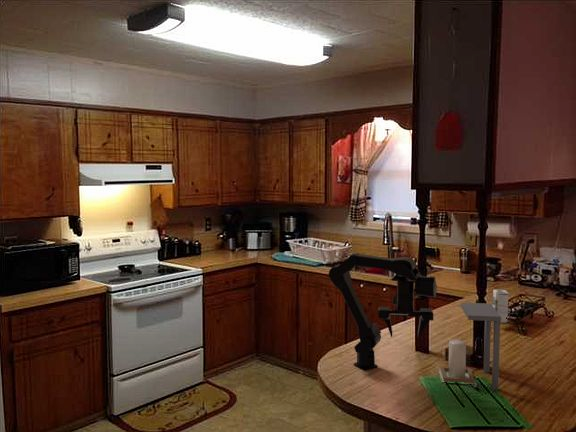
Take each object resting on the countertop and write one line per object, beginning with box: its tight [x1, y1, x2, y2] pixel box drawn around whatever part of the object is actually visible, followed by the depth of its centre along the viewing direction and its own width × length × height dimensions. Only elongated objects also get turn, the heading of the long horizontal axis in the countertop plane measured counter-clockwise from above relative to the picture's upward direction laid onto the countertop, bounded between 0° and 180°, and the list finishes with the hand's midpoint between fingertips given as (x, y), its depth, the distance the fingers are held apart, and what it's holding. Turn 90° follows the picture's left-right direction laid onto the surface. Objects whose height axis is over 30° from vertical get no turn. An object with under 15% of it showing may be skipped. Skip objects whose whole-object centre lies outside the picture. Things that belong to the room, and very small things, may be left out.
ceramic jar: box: [448, 339, 467, 378], centre depth 176 cm, size 6×6×12 cm
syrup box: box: [492, 289, 509, 324], centre depth 240 cm, size 6×6×14 cm
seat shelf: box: [438, 302, 501, 391], centre depth 175 cm, size 18×16×24 cm
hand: (405, 337), depth 180 cm, fingers open, 9 cm apart
